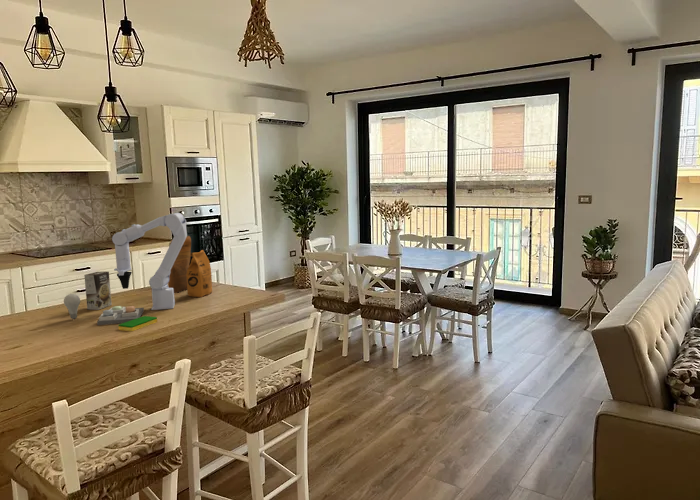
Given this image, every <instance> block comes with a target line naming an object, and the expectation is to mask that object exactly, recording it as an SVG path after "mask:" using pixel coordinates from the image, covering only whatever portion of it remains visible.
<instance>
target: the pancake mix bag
mask: <svg viewBox="0 0 700 500" xmlns="http://www.w3.org/2000/svg"><path fill="white" fill-rule="evenodd" d="M172 240H173V239H171V240H170V242H169V243H168V247H169V246H170V244H171V242H172ZM191 248H192V238H191V236H190V235H187V237H186V239H185V241H184V244H183V246H182V248H181V250H180V252H179V254H178V256H177V258H176V260H175V262H174V264H173V266H172V268H171V273H170V276H169V282H168V284H167V285H168V288H173V289H174V294H177V293H181V292H184V291H187V277H186V275H187V270H188V267H189V265H190V264H191V257H192V256H191V255H190V254H191V253H192V252H191V250H192V249H191Z"/></svg>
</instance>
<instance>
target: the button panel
mask: <svg viewBox="0 0 700 500" xmlns="http://www.w3.org/2000/svg"><path fill="white" fill-rule="evenodd" d="M121 308H122V309H121V310H113V315H112V316H105V317H104V316H103V313H101V315H99V316H98V320H97V321H96V323H97V326H104V325H115V324H116V325H117V324H118V325H119V324H122V323H125V322H128V321H131V320H134V319H137V318H140V317H142V315H143V313H144V311H145V308H144V307H135V312H131V313H126V306H121ZM108 310H112V307H110V309H108Z"/></svg>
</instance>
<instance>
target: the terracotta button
mask: <svg viewBox="0 0 700 500" xmlns="http://www.w3.org/2000/svg"><path fill="white" fill-rule="evenodd" d="M125 308H126V313H131V312H135V308H136V306H135V305H131V306H130V305H129V306H125Z"/></svg>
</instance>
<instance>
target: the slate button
mask: <svg viewBox="0 0 700 500" xmlns="http://www.w3.org/2000/svg"><path fill="white" fill-rule="evenodd" d="M102 314H103V316H104V317H105V316H112V315H113V310H109V309H105V310H102Z"/></svg>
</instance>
